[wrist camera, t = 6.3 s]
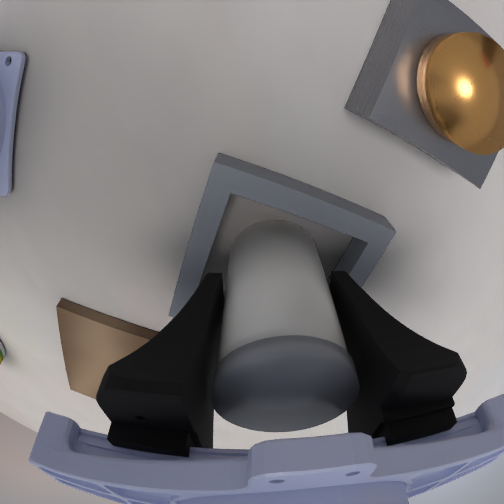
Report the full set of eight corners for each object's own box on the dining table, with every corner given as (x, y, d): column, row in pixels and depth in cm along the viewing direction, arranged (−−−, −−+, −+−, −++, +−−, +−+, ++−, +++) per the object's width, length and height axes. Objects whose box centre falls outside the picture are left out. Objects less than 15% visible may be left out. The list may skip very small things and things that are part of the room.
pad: (73, 382, 23) (70, 389, 22) (61, 298, 17) (56, 306, 16) (187, 418, 25) (186, 426, 24) (220, 349, 19) (220, 359, 18)
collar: (174, 297, 17) (168, 315, 16) (218, 152, 13) (214, 162, 11) (310, 333, 18) (314, 352, 17) (384, 217, 14) (396, 231, 13)
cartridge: (216, 281, 16) (196, 419, 9) (245, 204, 14) (238, 341, 7) (296, 304, 17) (314, 436, 10) (335, 236, 15) (388, 370, 8)
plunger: (377, 102, 10) (414, 114, 8) (413, 16, 8) (457, 6, 5) (453, 151, 11) (496, 175, 8) (485, 73, 9) (532, 83, 6)
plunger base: (344, 108, 11) (368, 117, 9) (392, -3, 8) (424, -17, 6) (445, 166, 13) (480, 189, 10) (487, 69, 10) (526, 75, 7)
